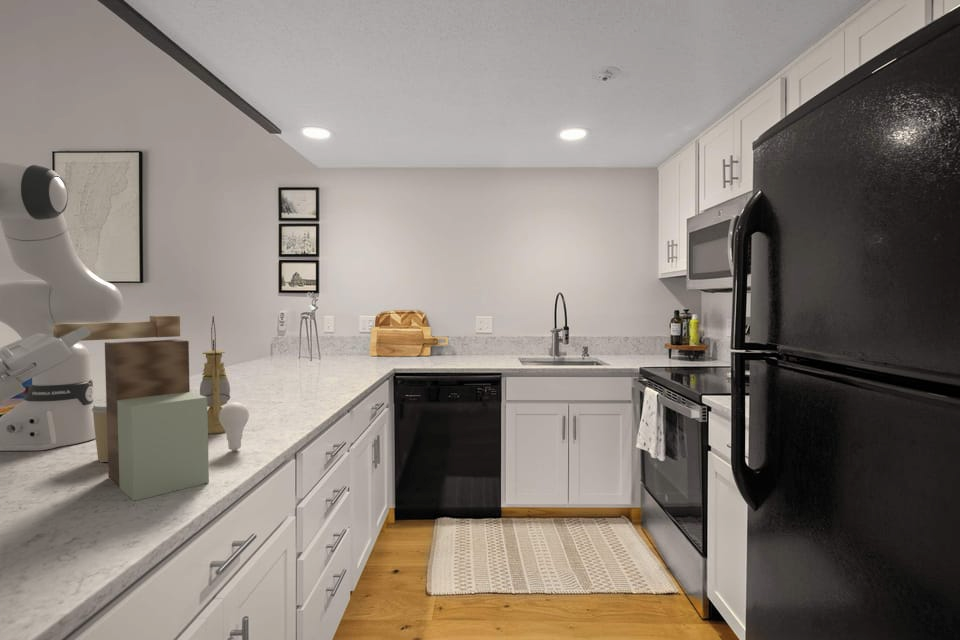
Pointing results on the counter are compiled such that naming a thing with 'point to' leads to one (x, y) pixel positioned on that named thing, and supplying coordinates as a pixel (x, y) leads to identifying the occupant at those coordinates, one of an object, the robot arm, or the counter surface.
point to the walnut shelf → (141, 380)
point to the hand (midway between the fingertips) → (84, 329)
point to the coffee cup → (101, 430)
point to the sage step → (162, 443)
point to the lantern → (214, 387)
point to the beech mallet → (125, 329)
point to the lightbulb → (234, 423)
